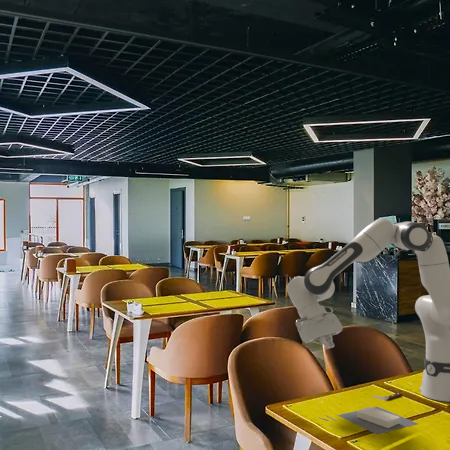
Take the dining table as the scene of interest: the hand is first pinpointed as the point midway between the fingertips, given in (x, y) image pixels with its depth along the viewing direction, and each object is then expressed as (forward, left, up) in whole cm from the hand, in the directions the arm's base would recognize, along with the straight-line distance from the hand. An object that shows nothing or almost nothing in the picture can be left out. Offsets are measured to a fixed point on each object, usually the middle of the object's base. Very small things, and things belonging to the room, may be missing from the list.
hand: (331, 347), depth 183 cm
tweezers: (+12, +18, -21) cm, 30 cm away
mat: (-2, +21, -21) cm, 30 cm away
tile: (0, +16, -19) cm, 25 cm away
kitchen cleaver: (-19, +5, -21) cm, 29 cm away
